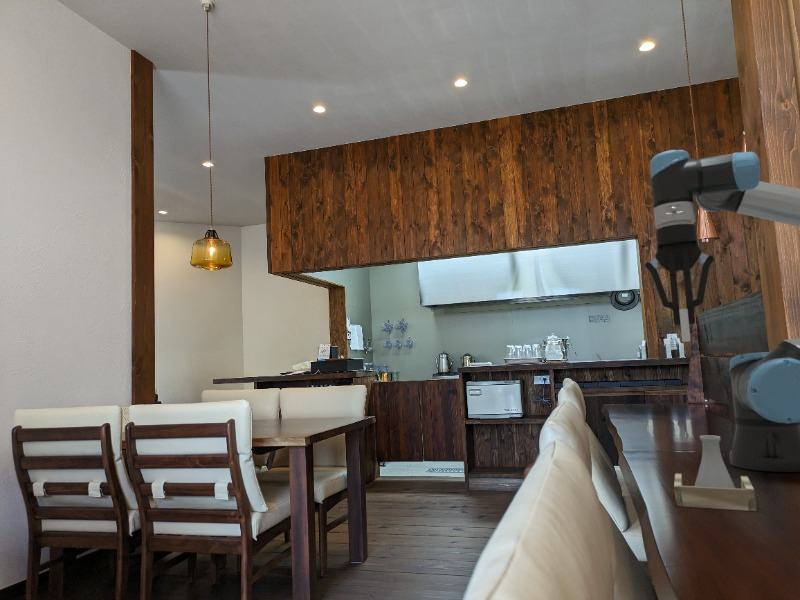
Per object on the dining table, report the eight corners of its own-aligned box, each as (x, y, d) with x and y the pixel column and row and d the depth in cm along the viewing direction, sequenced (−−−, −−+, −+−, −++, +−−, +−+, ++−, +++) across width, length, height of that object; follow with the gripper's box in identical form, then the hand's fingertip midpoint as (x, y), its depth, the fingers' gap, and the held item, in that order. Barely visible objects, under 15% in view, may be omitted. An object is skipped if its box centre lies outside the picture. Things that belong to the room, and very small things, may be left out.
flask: (749, 503, 92) (742, 438, 93) (700, 503, 93) (694, 439, 94) (730, 492, 99) (724, 433, 100) (685, 493, 100) (680, 434, 101)
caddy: (676, 490, 102) (675, 473, 102) (749, 494, 97) (747, 476, 97) (675, 506, 91) (674, 486, 92) (756, 511, 87) (754, 490, 87)
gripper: (640, 227, 118) (650, 342, 116) (711, 218, 113) (724, 339, 110) (642, 234, 125) (652, 343, 122) (710, 225, 119) (722, 340, 117)
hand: (686, 341), depth 116 cm, fingers closed
